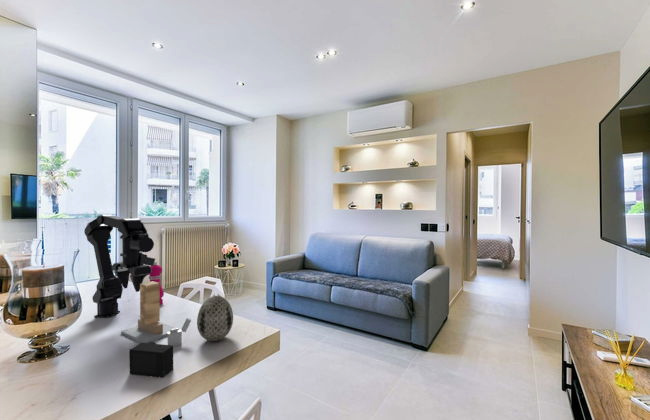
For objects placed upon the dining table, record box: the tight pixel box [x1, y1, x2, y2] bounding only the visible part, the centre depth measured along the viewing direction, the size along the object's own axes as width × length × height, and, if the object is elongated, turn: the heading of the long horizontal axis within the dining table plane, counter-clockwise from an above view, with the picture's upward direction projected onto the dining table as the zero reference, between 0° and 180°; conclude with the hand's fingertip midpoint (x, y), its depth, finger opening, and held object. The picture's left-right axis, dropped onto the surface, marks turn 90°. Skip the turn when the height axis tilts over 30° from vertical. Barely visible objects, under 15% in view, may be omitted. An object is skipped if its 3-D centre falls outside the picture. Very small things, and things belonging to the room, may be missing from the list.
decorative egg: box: [196, 295, 234, 342], centre depth 101 cm, size 12×12×15 cm
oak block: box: [139, 281, 161, 325], centre depth 107 cm, size 4×4×14 cm
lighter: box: [166, 317, 192, 347], centre depth 99 cm, size 7×2×8 cm, turn 119°
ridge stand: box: [120, 318, 180, 344], centre depth 107 cm, size 16×12×4 cm
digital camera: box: [128, 341, 174, 379], centre depth 83 cm, size 10×5×7 cm, turn 80°
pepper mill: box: [148, 261, 165, 306], centre depth 138 cm, size 7×7×20 cm
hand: (131, 289), depth 116 cm, fingers open, 9 cm apart
